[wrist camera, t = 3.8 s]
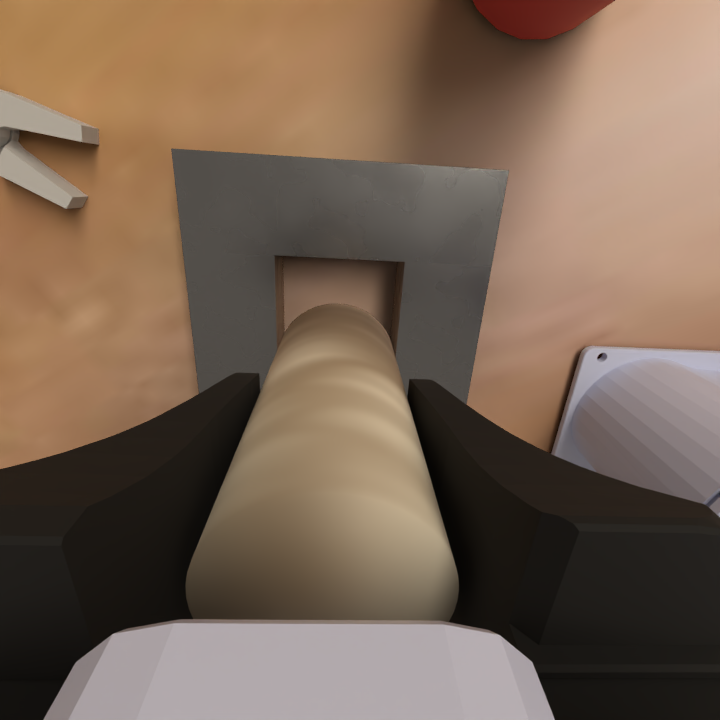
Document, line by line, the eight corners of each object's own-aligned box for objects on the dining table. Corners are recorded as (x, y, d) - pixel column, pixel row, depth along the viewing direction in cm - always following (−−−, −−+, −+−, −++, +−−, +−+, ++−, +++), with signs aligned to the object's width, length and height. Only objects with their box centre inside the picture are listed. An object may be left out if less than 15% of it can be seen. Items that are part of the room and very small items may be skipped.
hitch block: (488, 172, 18) (509, 170, 16) (447, 420, 23) (458, 445, 21) (193, 153, 18) (171, 148, 15) (218, 413, 23) (204, 438, 20)
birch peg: (398, 306, 14) (480, 495, 5) (388, 410, 15) (440, 680, 7) (277, 301, 13) (168, 488, 5) (280, 406, 15) (200, 681, 7)
